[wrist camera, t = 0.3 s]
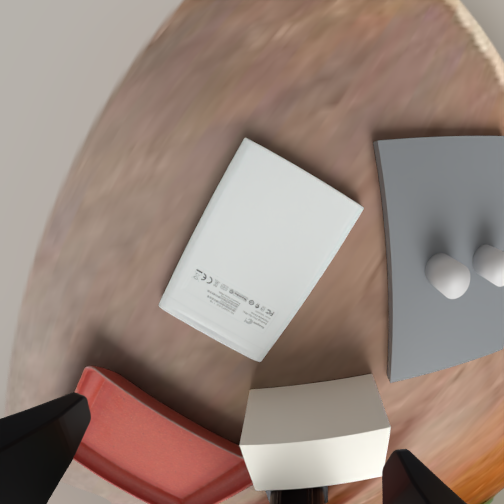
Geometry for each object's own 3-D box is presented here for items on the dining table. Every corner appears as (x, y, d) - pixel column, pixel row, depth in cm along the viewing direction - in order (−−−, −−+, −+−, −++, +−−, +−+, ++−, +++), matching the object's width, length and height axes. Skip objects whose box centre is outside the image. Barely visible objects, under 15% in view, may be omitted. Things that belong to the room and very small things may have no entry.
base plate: (497, 343, 20) (517, 363, 16) (387, 375, 21) (398, 403, 18) (502, 136, 16) (531, 134, 12) (373, 142, 17) (390, 136, 14)
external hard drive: (359, 205, 19) (262, 353, 22) (247, 139, 19) (163, 298, 22) (365, 208, 17) (260, 365, 21) (243, 136, 17) (155, 306, 20)
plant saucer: (276, 447, 25) (275, 473, 22) (190, 502, 29) (184, 521, 26) (105, 342, 24) (85, 362, 20) (67, 429, 28) (54, 445, 25)
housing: (372, 373, 21) (390, 426, 16) (369, 424, 23) (382, 476, 17) (249, 389, 23) (239, 445, 17) (262, 438, 24) (255, 490, 18)
